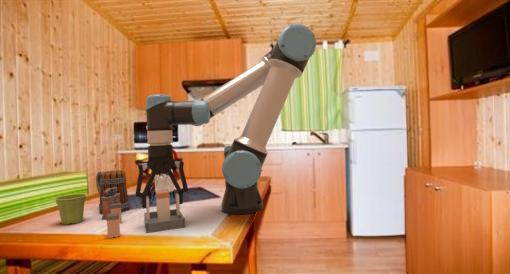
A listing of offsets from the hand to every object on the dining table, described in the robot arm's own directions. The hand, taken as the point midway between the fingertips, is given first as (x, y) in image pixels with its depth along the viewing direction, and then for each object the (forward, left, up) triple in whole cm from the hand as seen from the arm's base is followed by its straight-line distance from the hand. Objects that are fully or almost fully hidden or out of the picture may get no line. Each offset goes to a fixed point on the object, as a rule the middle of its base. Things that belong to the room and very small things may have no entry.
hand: (163, 216), depth 97 cm
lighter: (+16, -19, -3) cm, 25 cm away
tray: (0, 0, -2) cm, 2 cm away
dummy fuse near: (+14, +5, -2) cm, 15 cm away
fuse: (0, 0, -2) cm, 2 cm away
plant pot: (+28, -18, -3) cm, 33 cm away
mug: (+17, -30, -3) cm, 35 cm away
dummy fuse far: (+14, -10, -2) cm, 17 cm away
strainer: (-3, -28, -3) cm, 28 cm away
